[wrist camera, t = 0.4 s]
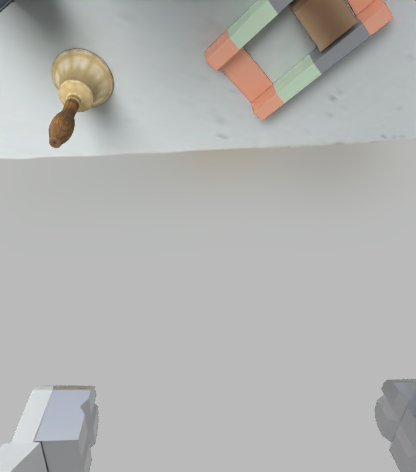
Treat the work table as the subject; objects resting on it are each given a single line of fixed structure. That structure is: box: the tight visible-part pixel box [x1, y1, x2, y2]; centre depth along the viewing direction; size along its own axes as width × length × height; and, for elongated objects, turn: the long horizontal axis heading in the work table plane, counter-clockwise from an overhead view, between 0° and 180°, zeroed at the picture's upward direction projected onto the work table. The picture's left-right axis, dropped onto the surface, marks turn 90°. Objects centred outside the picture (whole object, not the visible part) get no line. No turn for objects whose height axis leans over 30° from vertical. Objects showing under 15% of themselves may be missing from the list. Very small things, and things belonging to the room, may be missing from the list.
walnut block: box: [290, 0, 357, 51], centre depth 48 cm, size 5×6×4 cm
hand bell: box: [49, 49, 113, 148], centre depth 49 cm, size 8×8×16 cm
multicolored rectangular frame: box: [205, 0, 393, 121], centre depth 50 cm, size 20×12×3 cm, turn 133°
